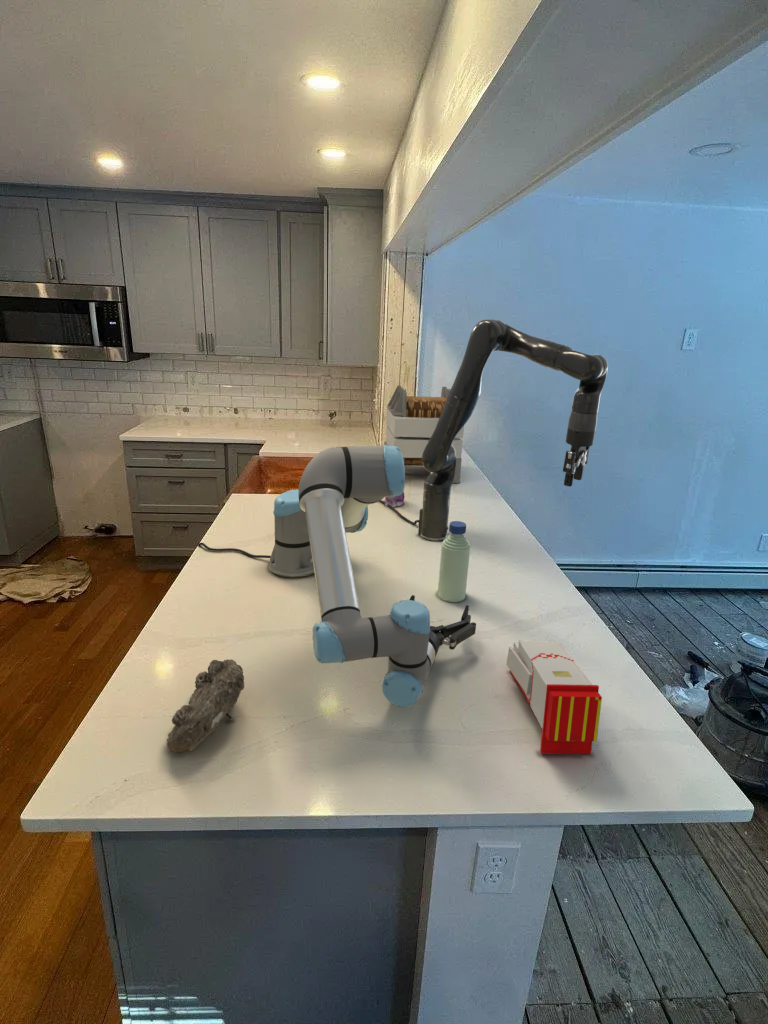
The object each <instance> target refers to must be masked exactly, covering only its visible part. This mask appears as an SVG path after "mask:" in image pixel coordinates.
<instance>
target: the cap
mask: <svg viewBox="0 0 768 1024" xmlns="http://www.w3.org/2000/svg"><path fill="white" fill-rule="evenodd" d="M448 525H449V526H448V532H449V534H451V533H452V534H456V535H462V534H463V535H465V534H466V533H467V523H466V522H464V521H460V520H452V521H450V522H449V524H448Z"/></svg>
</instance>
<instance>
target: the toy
mask: <svg viewBox="0 0 768 1024" xmlns="http://www.w3.org/2000/svg"><path fill="white" fill-rule="evenodd" d="M506 658H507V659H506V666H507V667H508V669H509V673H510V674H511V676H512V678H513V679H514V681H515V683H516V685H517V686H518V688H519V690H520V691H521V692H522V694H523V697H524V698H525V699H526V701H527V703H528V705H529V707H530V709H531V710H532V712H533V714H534V716H535V718H536V720H537V722H538V724H539V726H540V728H541V730H542V731H541V740H540V750H539V752H540V754H543V755H544V754H545V755H548V754H549V755H551V754H553V755H591V754H592V748H593V742H597V740H598V731H599V725H600V716H601V708H602V706H601V705H602V698H603V696H602V695H601V694H600V693H599V689H600V686H599V685H598V684H592V682H591V681H590V680H589V678H588V677H587V676H586V674H585V673H584V671H583V670H582V669H581V668H580V666H579V665H578V664H577V663H576V662H575V660H574V659H573V658H572V656H571V655H570V653H568V651H567V650H566V648H565V647H564V645H563V644H562V643H561V642H560V641H558V640H518V641H513V645H512V646H508V651H507V657H506Z"/></svg>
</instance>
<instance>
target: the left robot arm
mask: <svg viewBox="0 0 768 1024" xmlns="http://www.w3.org/2000/svg"><path fill="white" fill-rule="evenodd" d="M405 486H406V470H405V465H404V461H403V456H402V453H401V450H400V449H399V448H398V447H397V446H387V445H384V444H383V445H357V446H331V447H329V448H325V449H323V450H322V451H320V452H318V453H316V454H315V455H314V457H313V458H311V460H309V462H308V464H307V465H306V466H305V468H304V470H303V472H302V475H301V477H300V479H299V483H298V488H296V489H291V490H287V491H284V492H282V493H280V494H278V495H277V497H275V499H274V502H273V511H272V512H273V516H274V545H273V548H272V551H271V554H270V555H266V554H265V555H264V554H259V555H258V554H253V553H249V552H248V551H246V550H243V549H240V548H234V547H233V548H232V547H231V548H230V547H228V548H213V547H209V546H208V545H207V544H205V543H204V542H199V543H197V547H200V546H202V547H203V548H204V549H207V550H208V551H212V552H238V553H242V554H244V555H246V556H248V557H251V558H256V559H269V562H268V568H269V571H270V572H271V573H272V574H274V575H276V576H278V577H283V578H291V579H294V578H295V579H296V578H304V577H308V576H311V575H314V579H315V587H316V592H317V598H318V599H317V600H318V606H319V613H320V620H321V621H320V622H316V623H315V624H314V625H313V627H312V646H313V654H314V657H315V660H316V661H317V662H318V663H319V664H342V663H347V662H352V661H353V662H354V661H359V660H365V659H374V658H383V657H384V658H385V657H388V663H387V665H388V666H387V671H386V674H385V675H384V676H383V680H382V684H381V691H382V694H383V696H384V698H385V699H386V700H387V701H388V702H389V703H390V704H392V705H394V706H396V707H399V708H409V707H411V706H413V705H415V704H416V703H417V702H418V700H419V699H420V696H421V695H422V694H423V691H424V687H425V684H426V681H427V679H428V676H429V674H430V672H431V669H432V666H433V664H434V662H435V659H436V657H437V655H438V652H439V649H440V647H441V646H443V645H446V646H448V648H449V650H451V651H452V650H453V651H454V650H455V649H456V647H457V646H458V645H459V644H461V643H463V642H465V640H467V639H469V638H470V637H472V636H473V635H475V634H476V632H477V631H476V629H477V623H476V622H473V621H472V622H471V619H472V615H471V614H469V611H470V605H468V604H466V605H465V606H464V609H463V612H462V614H461V616H460V617H461V618H460V620H459V621H457V622H456V621H455V622H454V623H450V624H447V625H446V624H445V625H443V624H441V625H438V626H434V625H431V613H430V610H429V609H428V607H427V606H426V605H425V604H424V603H422V602H420V601H417V600H415V599H416V595H413V594H411V596H410V598H409V599H404V600H400V601H399V602H394V604H393V605H392V606H391V609H390V612H389V614H388V615H379V616H369V617H362V615H361V608H360V602H359V597H358V592H357V586H356V581H355V576H354V570H353V566H352V565H353V564H352V560H351V555H350V550H349V544H348V539H347V538H348V537H347V533H350V534H354V533H358V532H361V531H363V530H364V529H365V528H366V526H367V524H368V523H367V522H368V519H369V505H373V504H376V503H379V502H380V500H382V501H383V500H384V499H385V496H392V497H394V496H399V495H401V494H402V493H403V491H404V492H405Z"/></svg>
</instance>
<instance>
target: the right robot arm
mask: <svg viewBox="0 0 768 1024" xmlns="http://www.w3.org/2000/svg"><path fill="white" fill-rule="evenodd" d="M494 352H505V353H511V354H515V355H517V356H521V357H523V358H525V359H527V360H529V361H531V362H533V363H535V364H536V365H539V366H541V367H545V368H548V369H550V370H553V371H557V372H560V373H563V374H565V375H567V376H569V377H571V378H573V379H575V380H578V381H579V385H578V388H577V389H576V390H575V392H574V395H573V399H572V403H571V411H570V414H569V417H568V423H567V428H566V429H567V430H566V436H565V443H566V444H568V445H570V446H571V447H570V450H566V451H565V456H564V462H563V468H562V473H565V474H564V480H563V486H565V487H572V486H573V482H574V480H577V481H582V479H583V473H584V468H585V467H586V465H587V464H588V459H589V454H590V448H591V447H593V445H594V441H595V435H596V429H597V425H598V424H597V423H598V414H599V407H600V400H601V394H602V392H603V389H604V386H605V383H606V380H607V376H608V370H609V364H608V361H607V359H606V358H605V357H604V356H603V355H601V354H598V353H594V354H593V353H592V354H589V353H585V352H582V351H581V352H580V351H578V350H574V349H573V347H570V346H568V345H565V344H562V343H558V342H556V341H552V340H548V339H544V338H541V337H537V336H533V335H531V334H527V333H525V332H523V331H520V330H518V329H516V328H514V327H512V326H510V325H508V324H506V323H505V322H502V321H501V320H499V319H487V318H486V319H482V320H480V321H478V322H477V323H476V324H475V325H474V326H473V328H472V330H471V332H470V335H469V338H468V342H467V345H466V349H465V353H464V355H463V358H462V361H461V364H460V366H459V369H458V371H457V374H456V376H455V379H454V381H453V382H452V383H453V384H452V386H451V387H450V392H449V395H448V397H447V400H446V403H445V405H444V408H443V410H442V413H441V415H440V418H439V420H438V423H437V426H436V428H435V430H434V432H433V434H432V436H431V438H430V440H429V442H428V443H427V445H426V447H425V449H424V451H423V454H422V464H423V466H422V467H423V468H424V470H425V471H427V472H428V473H429V474H428V476H427V477H426V478H425V480H424V482H423V493H422V496H423V497H422V506H421V508H420V509H419V516H418V519H416V520H415V521H411V520H410V519H408V518H407V517H406V516H403V515H402V514H401V513H400V512H399V511H398V510H397V509H396V508H395V507H392V506H390V505H389V504H388V505H387V506H386V507H388V508H389V509H391V510H392V511H393V512H394V513H395V514H397V516H399V518H401V519H403V520H404V521H405V522H407V523H409V524H410V525H414V526H416V525H417V524H418V530H417V535H418V536H420V538H421V539H424V540H426V541H432V542H440V541H443V540H444V539H446V537H448V531H449V526H448V525H449V517H450V516H449V514H450V504H451V494H452V493H451V491H452V486H453V484H454V483H453V481H454V476H455V468H456V451H455V449H454V447H453V446H452V445H451V444H452V442H453V440H454V438H455V437H456V435H457V434H458V432H459V431H460V430H461V429H462V427H463V426H464V427H465V425H466V424H467V423H468V421H469V420H470V418H471V417H472V415H473V413H474V411H475V408H476V406H477V404H478V401H479V399H480V396H481V390H482V378H483V373H484V370H485V367H486V365H487V363H488V362H489V361H488V360H489V358H490V357H491V355H492V353H494ZM384 501H385V500H383V499H382V500H380V501H379V502H380V503H382V504H383V505H385V504H386V502H384Z"/></svg>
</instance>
